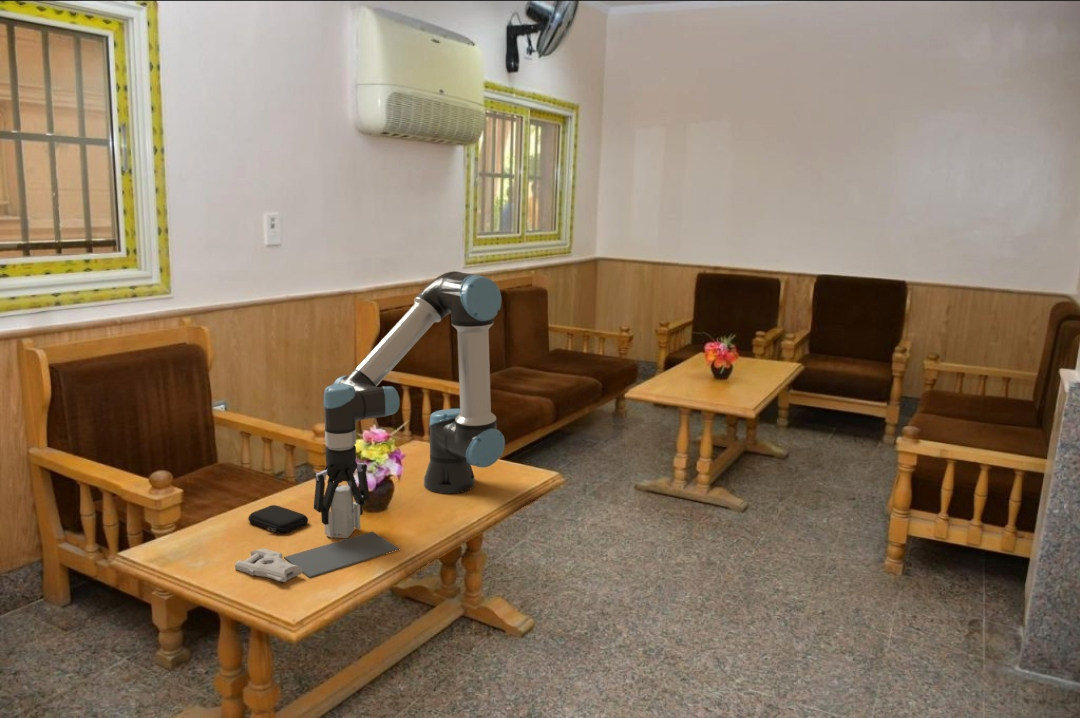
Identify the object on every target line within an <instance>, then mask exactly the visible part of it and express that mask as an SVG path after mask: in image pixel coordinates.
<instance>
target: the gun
mask: <svg viewBox="0 0 1080 718" xmlns="http://www.w3.org/2000/svg"><path fill="white" fill-rule="evenodd" d="M255 561H256V562H255ZM234 569H235V570H237V571H239V572H243V573H245V574H249V575H251V576H257V577H262V578H268V579H272V580H275V581H277V582H282V583H286V582H287V581H289V580H291V579H293V578H295V577H298V576H300V575H301V574H303V573H302V568H300V567H299V566H296V565H293V564H291V563H289V562H288V561H287V560H286V559H285V560H284V559H283V553H282V552H278V551H275V550H270V549H267V548H259V549H254V550H252V551H250V556H249V557H248V558H246V559H245V560H241V559H238V560H237V561H236V562H235V564H234Z"/></svg>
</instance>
